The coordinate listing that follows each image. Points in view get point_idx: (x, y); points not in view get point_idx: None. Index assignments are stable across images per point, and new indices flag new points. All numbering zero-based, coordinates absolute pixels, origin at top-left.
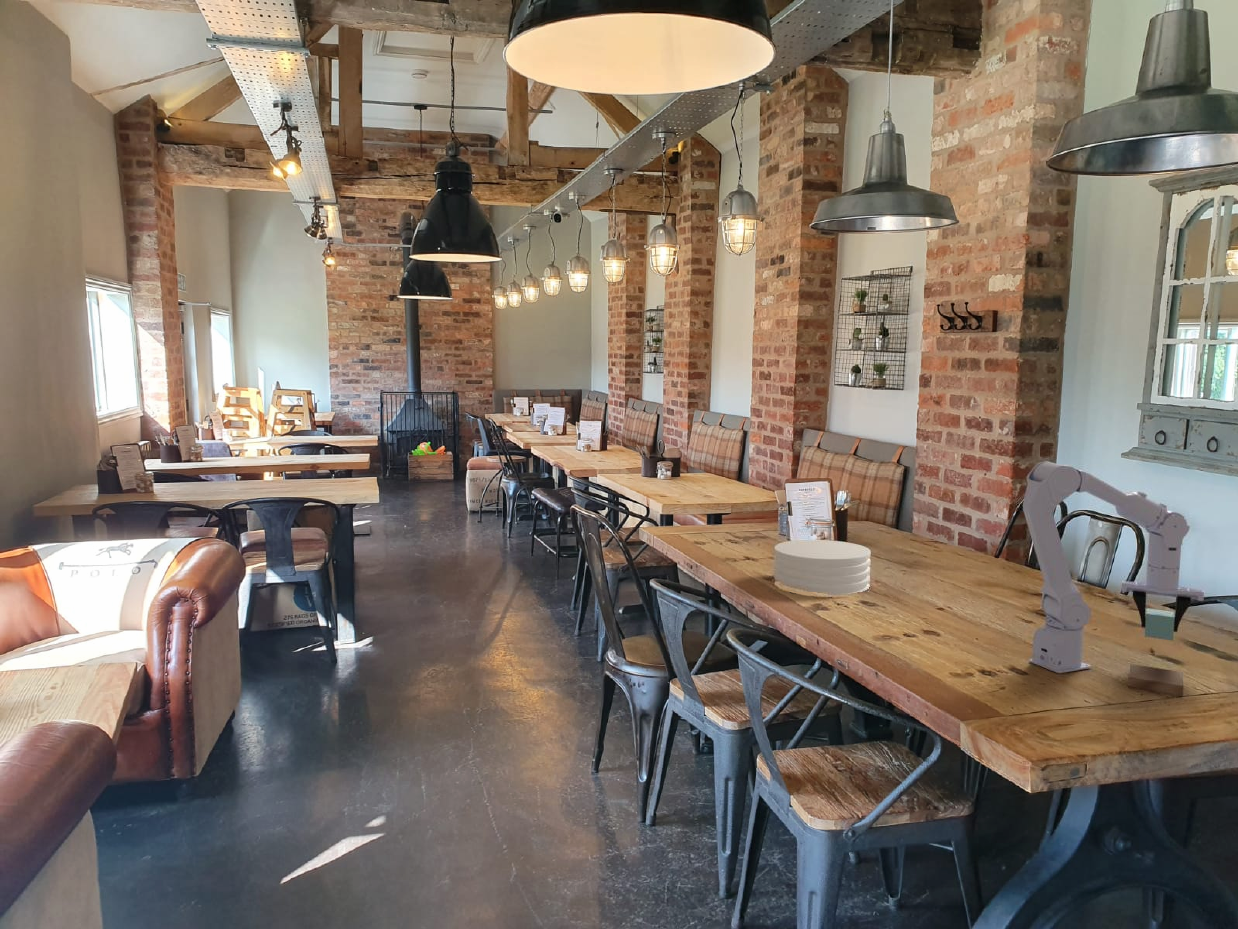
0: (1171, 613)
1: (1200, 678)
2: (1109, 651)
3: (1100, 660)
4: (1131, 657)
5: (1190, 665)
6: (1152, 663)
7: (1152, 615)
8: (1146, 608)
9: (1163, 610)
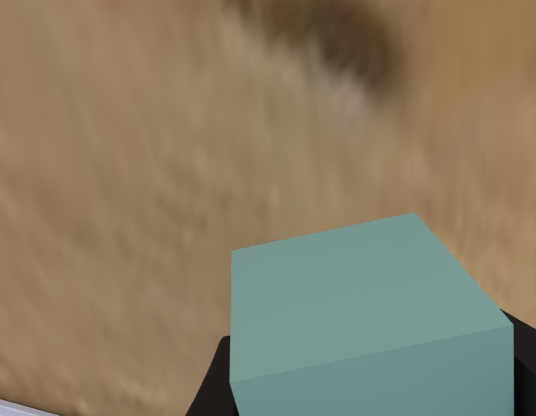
0: (487, 410)
1: (484, 247)
2: (44, 121)
3: (81, 303)
4: (170, 148)
5: (440, 67)
6: (278, 176)
7: None
8: (233, 393)
9: (404, 347)
